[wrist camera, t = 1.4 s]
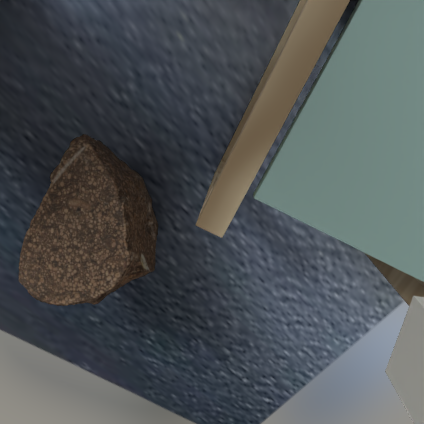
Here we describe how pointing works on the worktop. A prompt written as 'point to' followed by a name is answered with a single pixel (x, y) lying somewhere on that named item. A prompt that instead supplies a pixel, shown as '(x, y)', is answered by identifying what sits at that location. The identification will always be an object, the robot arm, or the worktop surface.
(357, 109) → the trapdoor
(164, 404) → the worktop surface
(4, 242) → the worktop surface
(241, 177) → the frame
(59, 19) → the worktop surface
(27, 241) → the rock
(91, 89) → the worktop surface
